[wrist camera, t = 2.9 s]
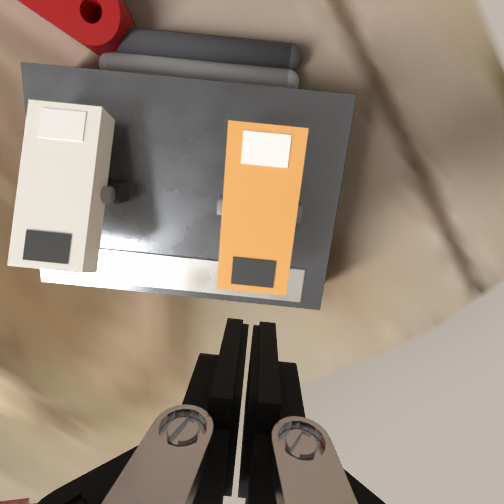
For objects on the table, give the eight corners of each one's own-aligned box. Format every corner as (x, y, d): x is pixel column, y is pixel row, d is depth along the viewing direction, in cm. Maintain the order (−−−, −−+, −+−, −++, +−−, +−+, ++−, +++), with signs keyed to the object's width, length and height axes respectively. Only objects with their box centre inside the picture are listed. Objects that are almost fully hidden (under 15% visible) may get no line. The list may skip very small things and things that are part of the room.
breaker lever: (224, 123, 18) (219, 119, 16) (311, 132, 17) (317, 128, 16) (214, 276, 20) (209, 288, 18) (290, 283, 20) (293, 296, 18)
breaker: (44, 115, 19) (20, 98, 17) (123, 122, 19) (109, 107, 17) (25, 264, 19) (-1, 264, 17) (106, 272, 19) (89, 274, 17)
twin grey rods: (104, 30, 22) (92, 20, 20) (302, 49, 22) (305, 40, 20) (106, 79, 23) (94, 73, 21) (296, 98, 23) (298, 93, 21)
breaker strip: (61, 78, 23) (-2, 52, 17) (340, 106, 23) (364, 88, 17) (73, 264, 27) (25, 290, 21) (311, 288, 26) (323, 320, 21)
